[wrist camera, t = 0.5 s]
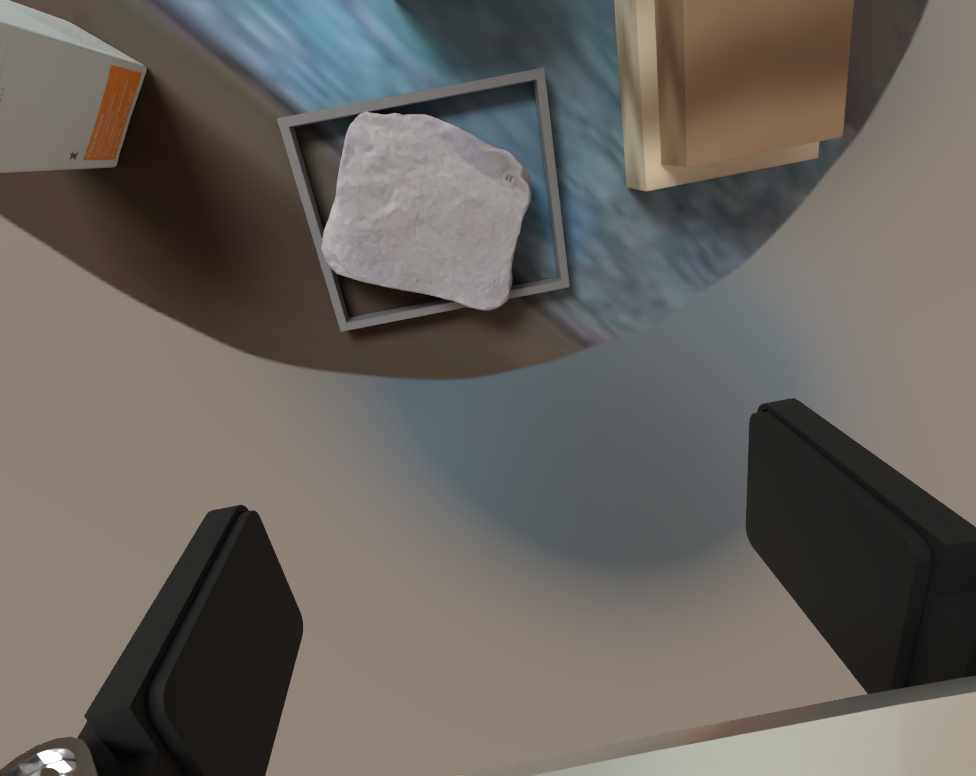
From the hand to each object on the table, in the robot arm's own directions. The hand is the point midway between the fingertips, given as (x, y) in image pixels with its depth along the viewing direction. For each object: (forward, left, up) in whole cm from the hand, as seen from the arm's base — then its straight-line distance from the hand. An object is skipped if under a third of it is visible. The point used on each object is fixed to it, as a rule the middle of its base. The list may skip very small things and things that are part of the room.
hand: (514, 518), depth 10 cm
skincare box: (-12, -18, -28) cm, 35 cm away
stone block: (-3, -1, -28) cm, 28 cm away
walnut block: (-7, +16, -24) cm, 30 cm away
